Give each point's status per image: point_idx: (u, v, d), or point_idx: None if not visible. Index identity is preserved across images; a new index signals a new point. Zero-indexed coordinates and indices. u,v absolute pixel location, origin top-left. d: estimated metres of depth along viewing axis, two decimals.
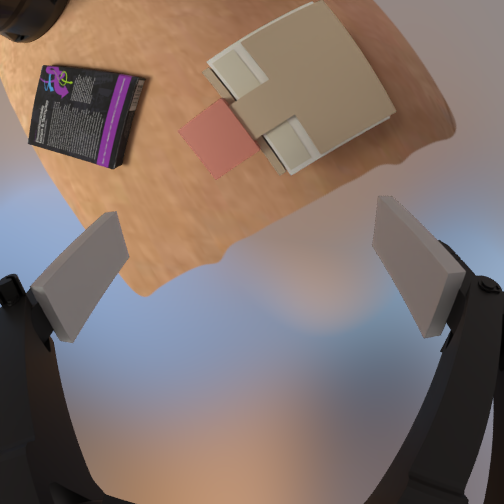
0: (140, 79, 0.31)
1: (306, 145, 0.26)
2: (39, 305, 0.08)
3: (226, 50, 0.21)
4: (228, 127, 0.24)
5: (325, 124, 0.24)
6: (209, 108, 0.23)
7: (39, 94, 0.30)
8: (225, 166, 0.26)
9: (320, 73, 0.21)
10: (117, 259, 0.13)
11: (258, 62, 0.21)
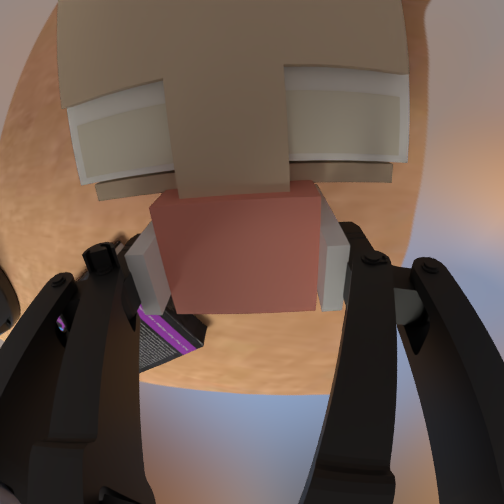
0: None
1: (369, 89, 0.09)
2: (131, 275, 0.10)
3: (75, 139, 0.10)
4: (224, 230, 0.10)
5: (346, 17, 0.07)
6: (161, 241, 0.10)
7: None
8: (304, 282, 0.11)
9: None
10: None
11: (115, 86, 0.08)
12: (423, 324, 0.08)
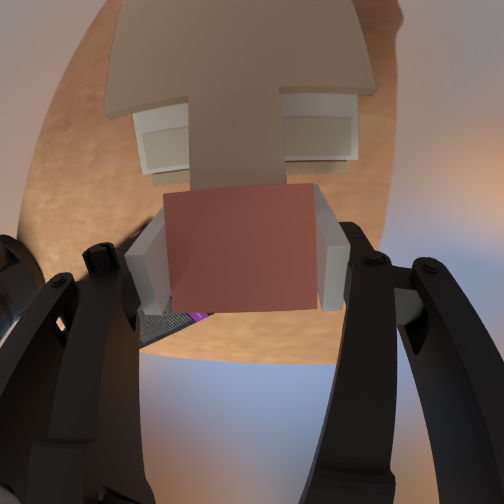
0: None
1: (331, 115, 0.15)
2: (131, 275, 0.10)
3: (140, 143, 0.17)
4: (228, 215, 0.11)
5: (323, 53, 0.10)
6: (169, 227, 0.11)
7: None
8: (303, 272, 0.11)
9: (227, 22, 0.11)
10: None
11: (150, 100, 0.11)
12: (423, 324, 0.08)
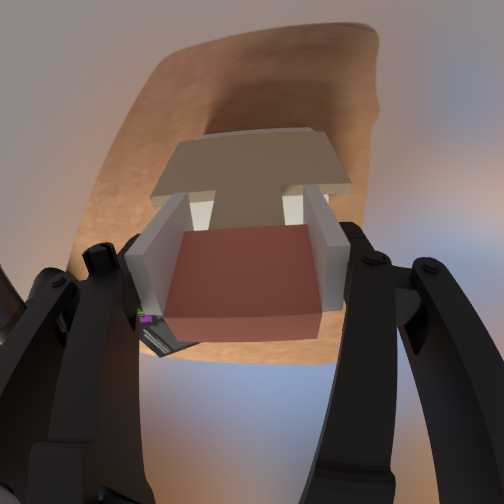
0: None
1: None
2: (131, 276, 0.10)
3: None
4: (235, 243, 0.13)
5: (312, 169, 0.18)
6: (182, 251, 0.13)
7: None
8: (303, 281, 0.11)
9: (248, 157, 0.20)
10: None
11: (188, 191, 0.18)
12: (423, 324, 0.08)
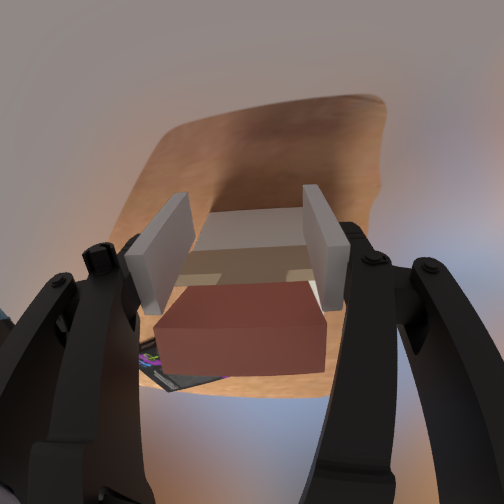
0: None
1: None
2: (131, 275, 0.10)
3: None
4: (238, 290, 0.13)
5: None
6: (184, 294, 0.13)
7: (144, 370, 0.55)
8: (305, 308, 0.11)
9: (254, 258, 0.23)
10: (188, 237, 0.15)
11: (195, 273, 0.19)
12: (423, 324, 0.08)
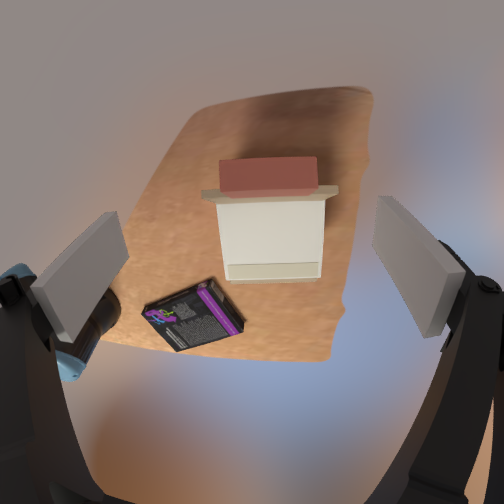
0: (210, 284, 0.56)
1: (309, 261, 0.40)
2: (39, 305, 0.08)
3: (225, 268, 0.42)
4: None
5: None
6: None
7: (157, 327, 0.62)
8: None
9: None
10: (117, 259, 0.13)
11: None
12: None
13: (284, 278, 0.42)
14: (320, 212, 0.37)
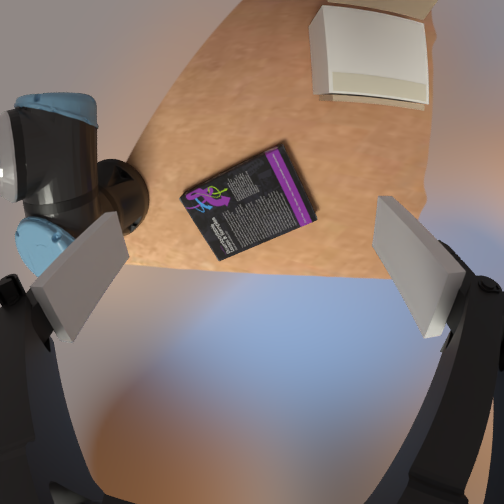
0: (283, 146, 0.43)
1: (417, 81, 0.27)
2: (39, 305, 0.08)
3: (329, 76, 0.28)
4: None
5: None
6: None
7: (199, 219, 0.49)
8: None
9: None
10: (117, 259, 0.13)
11: None
12: None
13: (394, 98, 0.29)
14: (421, 32, 0.23)
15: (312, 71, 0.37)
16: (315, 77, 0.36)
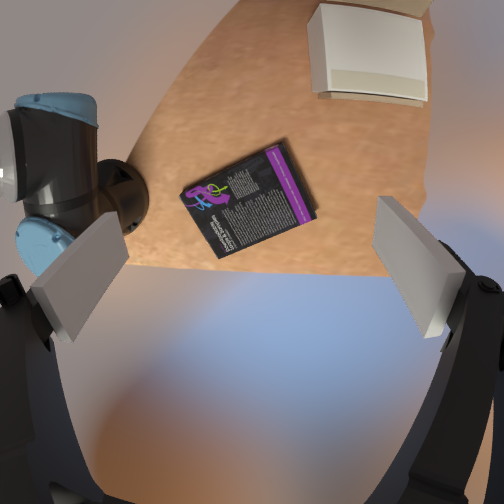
0: (283, 144, 0.43)
1: (416, 79, 0.27)
2: (39, 305, 0.08)
3: (328, 73, 0.28)
4: None
5: None
6: None
7: (198, 217, 0.48)
8: None
9: None
10: (117, 259, 0.13)
11: None
12: None
13: (392, 95, 0.29)
14: (419, 29, 0.23)
15: (311, 69, 0.37)
16: (314, 75, 0.36)
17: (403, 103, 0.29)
